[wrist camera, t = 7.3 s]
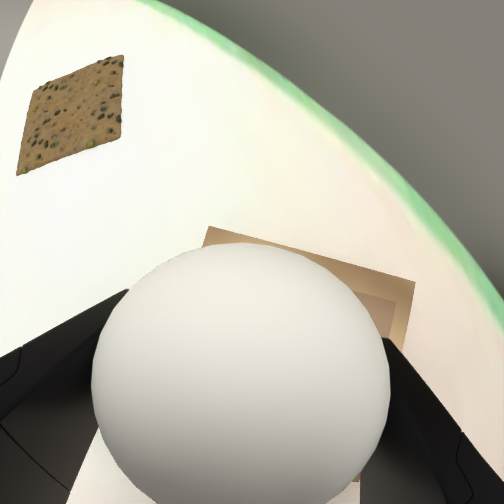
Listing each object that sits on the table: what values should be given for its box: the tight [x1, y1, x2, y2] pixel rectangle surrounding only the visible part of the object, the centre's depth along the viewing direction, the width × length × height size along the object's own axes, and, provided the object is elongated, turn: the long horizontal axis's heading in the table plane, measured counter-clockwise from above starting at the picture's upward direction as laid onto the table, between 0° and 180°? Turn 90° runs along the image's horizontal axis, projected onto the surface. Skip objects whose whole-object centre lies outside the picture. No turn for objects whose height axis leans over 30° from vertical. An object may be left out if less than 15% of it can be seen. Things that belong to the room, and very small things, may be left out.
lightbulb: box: [91, 242, 390, 504], centre depth 9 cm, size 6×6×11 cm
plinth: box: [202, 226, 415, 482], centre depth 18 cm, size 14×14×4 cm
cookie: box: [16, 55, 124, 176], centre depth 26 cm, size 12×12×1 cm
